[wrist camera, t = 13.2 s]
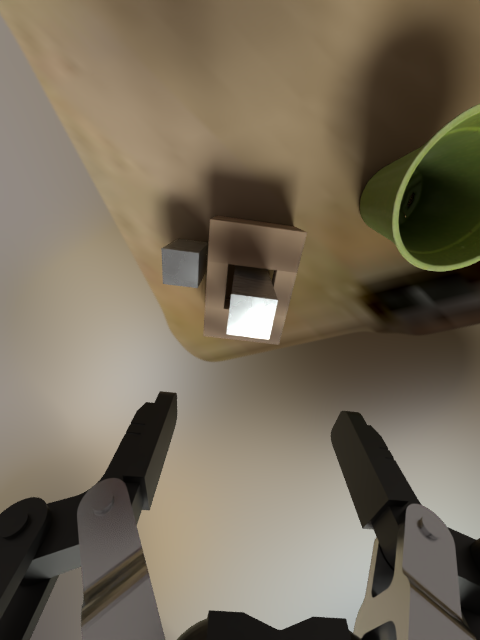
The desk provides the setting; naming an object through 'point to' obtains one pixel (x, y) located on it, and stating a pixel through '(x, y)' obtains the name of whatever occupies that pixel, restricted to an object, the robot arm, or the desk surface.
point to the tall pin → (251, 303)
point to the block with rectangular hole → (252, 251)
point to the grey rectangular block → (184, 262)
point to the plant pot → (432, 198)
